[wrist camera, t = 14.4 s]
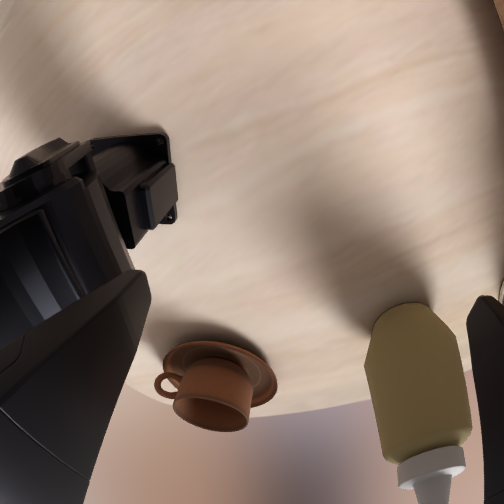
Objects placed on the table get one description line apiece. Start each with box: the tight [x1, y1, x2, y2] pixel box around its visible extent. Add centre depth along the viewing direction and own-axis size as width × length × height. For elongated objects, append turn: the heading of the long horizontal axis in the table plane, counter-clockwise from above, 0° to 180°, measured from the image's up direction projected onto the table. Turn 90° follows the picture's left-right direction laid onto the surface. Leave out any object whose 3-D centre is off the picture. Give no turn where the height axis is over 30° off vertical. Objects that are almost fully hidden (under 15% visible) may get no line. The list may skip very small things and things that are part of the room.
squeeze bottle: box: [364, 303, 472, 504], centre depth 17 cm, size 8×8×18 cm
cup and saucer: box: [154, 341, 277, 432], centre depth 29 cm, size 12×12×6 cm
